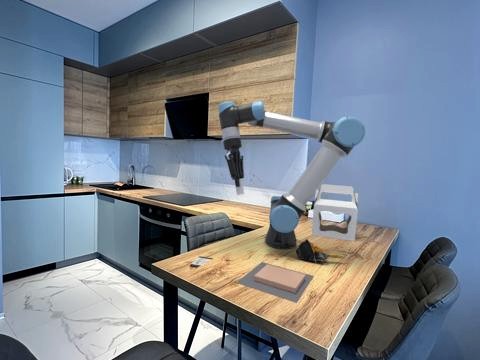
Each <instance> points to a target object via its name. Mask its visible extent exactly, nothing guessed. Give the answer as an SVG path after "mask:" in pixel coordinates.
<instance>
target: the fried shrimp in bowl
mask: <svg viewBox="0 0 480 360" xmlns="http://www.w3.org/2000/svg"><path fill="white" fill-rule="evenodd" d="M326 251H328V250H327V249H323V248H321V247H319V246H316V245H314V242H311V241H309V239H305V240H304V241H302V242H301V243H300V244H299V245H298V247H297V248H296V249H295V253H296V255H297V257H298V259H302V260H305V261H313V262H315V263H318V264H319V263H323V262H324V261H326V260H328V258H334V259H344V258H346V255H345V254H344V253H330V252H328V253H327V252H326Z"/></svg>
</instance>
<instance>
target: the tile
mask: <svg viewBox="0 0 480 360" xmlns="http://www.w3.org/2000/svg"><path fill="white" fill-rule="evenodd" d="M268 264H269V263H268ZM268 264H267V265H266V266H265V267H264V268H262V269H261V270H260V271H259V272H258V273H257V274H255V275H254V281H257V282H260V283H264V284H267V285H270V286H273V287H276V288H280V289H283V290H286V291H289V292H292V293H296V292H297V290H298V289H299V287H300V286H301V285H302V283H303V282H304V280H305V276H306V275H305V274H306V273H305V274H302V273H303V272H301V273H298V272H299V271H297V272H294V271H295V270H294V271H291V270H292V269H290V270H287V269H288V268H286V269H283V268H284V267H283V268H280V267H281V266H279V267H276V266H277V265H275V266H272V265H273V264H271V265H268Z"/></svg>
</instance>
